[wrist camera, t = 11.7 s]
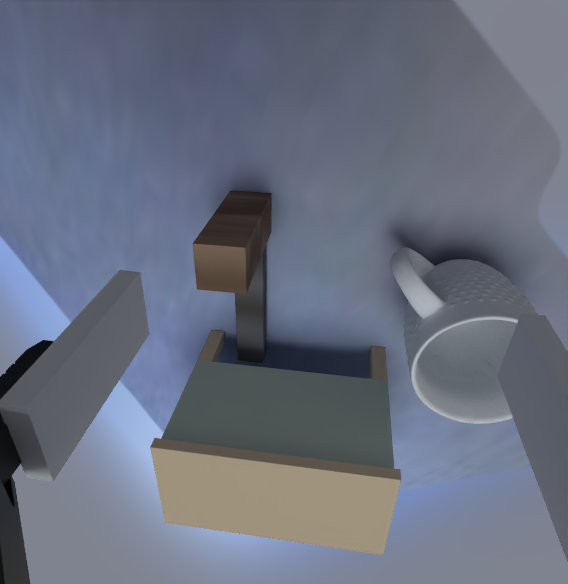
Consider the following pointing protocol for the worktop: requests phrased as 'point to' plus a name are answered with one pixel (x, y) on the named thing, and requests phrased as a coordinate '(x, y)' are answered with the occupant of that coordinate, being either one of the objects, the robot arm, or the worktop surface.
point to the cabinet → (281, 453)
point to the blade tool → (238, 264)
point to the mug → (458, 333)
